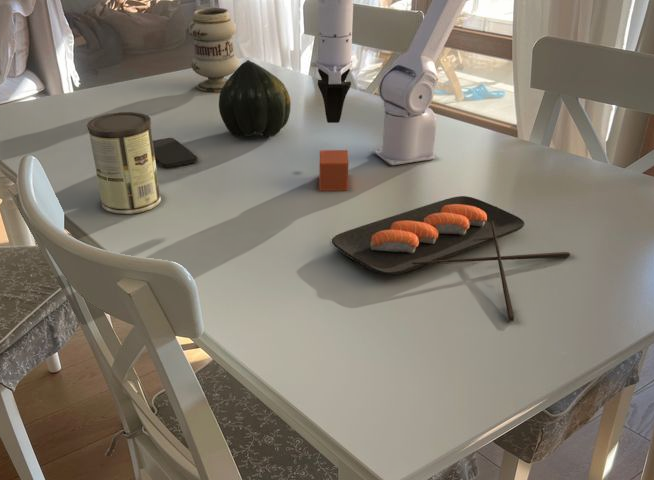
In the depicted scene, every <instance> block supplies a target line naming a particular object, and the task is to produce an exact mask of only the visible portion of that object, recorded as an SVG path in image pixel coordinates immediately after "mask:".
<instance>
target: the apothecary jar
mask: <svg viewBox="0 0 654 480" xmlns="http://www.w3.org/2000/svg"><path fill="white" fill-rule="evenodd" d="M192 19H193V20H192V21H191V22H190V23H189V25H188V33H189V35H190V37H192V38H193V41H194V56H193V58H192V59H191V63H190V65H191V69H192V71H193V72H194V73H195V74H197V75H198V76H201V77H203V78H207V79H205V80H203V81H201V82H199V83H198V84H197V89H198V90H200V91H202V92H213V93H220V92H221V90H222V88H223V86H224V85H225V83H226V82H227V80H228V79H229V78H225V77H228V76H231V75H232V74H233V73H234V72H235V71H236V70H237V69H238V67H239V66H240V60H239V58H238V57H237V55H236V54H234V44H233V36H234V35H235V34H236V31H237V25H236V22H234V20H233V19H231V18H230V14H229V10H228V9H227V8H223V7H209V8H201V9H197V10H194V12H193V18H192Z"/></svg>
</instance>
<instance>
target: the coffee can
mask: <svg viewBox="0 0 654 480" xmlns="http://www.w3.org/2000/svg"><path fill="white" fill-rule="evenodd" d="M151 125H152V118H151V117H150V116H149V115H147V114H145V113H141V112H133V111H123V112H122V111H121V112H120V111H119V112H111V113H106V114H103V115H99V116H96V117H94V118H92V119H90V120H89V121H88V122H86V129H87V131H88V135H89V139H90V145H91V151H92V156H93V162H94V167H95V171H96V178H97V183H98V187H99V188H98V189H99V193H100V194H99V195H100V200H101V206H102V208H103V210H104V211H107V212H109V213H112V214H118V215H130V214H131V215H132V214H139V213H143V212H146V211H150V210H152V209H154V208H156V207H157V206H159V204H160V203H161V200H162V197H161V193H160V186H159V179H158V178H159V177H158V169H157V163H156V161H155V155H154V147H153V140H154V139H153V133H152V126H151Z"/></svg>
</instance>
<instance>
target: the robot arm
mask: <svg viewBox="0 0 654 480" xmlns="http://www.w3.org/2000/svg"><path fill="white" fill-rule="evenodd" d="M467 1H468V0H431V2H430V5H429V7H428V8H427V11H426V13H425V14H424V17H423V19H422V21H421V22H420V25H419V27H418V29H417V31H416V33H415V35H414V38H412V39H413V40H412V41H411V43H410V46H409V47H408V49H407V51H406V52H404V53H403V54H401V55H399V56H397V57H396V58H394V60H393V63H392V65H391V66H390V67H389V69H387V70H386V72H384V74H383V75H382V76H381V78H380V80H379V82H378V89H377V90H378V95H379V97H380V99H381V100H382V101H383V108H384V115H383V117H384V118H383V131H382V132H383V134H382V148H379V149H374V150H373V154H375V155H376V156H378V157H379V158H380V159H382V160H383V161H384V162H386V163H387V164H388V165H390V166H398V165H404V164H411V163H416V162H417V163H418V162H423V161H429V160H435V159H436V156H435V155H434V151H435V143H436V133H437V119H436V114H435V112H434V110H433V109H432V108H430V106H431V104H432V102H433V98H434V93H435V89H436V86H437V83H438V82H439V75H438V72H437V69H436V63H437V61H438V58H439V57H440V55H441V53H442V51H443V49H444V47H445V45H446V43H447V41H448V39H449V37H450V35H451V33H452V32H453V29H454V27H455V25H456V23H457V21H458V19H459V17H460V15H461V13H462V11H463V9H464V7H465V5H466V3H467ZM317 12H318V15H317V21H318V22H317V59H316V60H315V59H313V60H311V61H310V67H311V68H317V72H318V74H319V76H320V79H317V87H318V89H319V91H320V93H321V96H322V100H323V104H324V111H325V118H326V123H328V124H330V123H331V124H338V123H340V122H341V117H342V113H343V108H344V104H345V100H346V97H347V95H348V92H349V91H350V89H351V86H352V81H346V80H347V77H348V75H349V73H350V72H351V68H352V67H353V60H352V51H353V49H352V48H353V22H354V21H353V20H354V19H353V18H354V0H318V9H317Z"/></svg>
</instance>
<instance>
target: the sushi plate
mask: <svg viewBox="0 0 654 480" xmlns="http://www.w3.org/2000/svg"><path fill="white" fill-rule="evenodd" d="M523 227H525V221H524V220H523V219H522V218H520V217H519V216H517V215H515V214H514V213H511V212H509V211H507V210H504V209H502V208H500V207H497V206H495V205H493V204H491V203H488V202H487V201H483V200H481V199H478V198H475V197H472V196H467V195H459V196H453V197H449V198H446V199H445V198H444V199H441V200H438V201H435V202H432V203H429V204H425V205H423V206H420V207H417V208H413V209H410V210H407V211H404V212H401V213H399V214H394V215H392V216H389V217H386V218H382V219H379V220H376V221H373V222H370V223H367V224H364V225H361V226H357V227H354V228H352V229H349V230H346V231H342V232H340V233H338V234H336V235H335V236H333V237H332V238H331V244H332V245H333V246H334V248H335V249H337V250H338V251H339V252H341V253H342V254H344V255H345V256H347V257H349V258H350V259H352V260H353V261H355V262H356V263H358V264H360V265H362V266H363V267H365V268H367V269H369V270H371V271H373V272H375V273H376V274H381V275H385V276H395V275H401V274H404V273H407V272H410V271H413V270H415V269H419V268H421V267H424V266H427V265H430V264H444V263H446V264H447V263H463V262H464V263H465V262H484V261H485V262H487V261H489V262H490V261H497V263H498V268H499V273H500V281H501V285H502V291H503V296H504V303H505V308H506V314H507V318H508V322H514V320H515V319H514V318H515V314H514V310H513V305H512V300H511V296H510V292H509V288H508V287H509V286H508V283H507V278H506V275H505V274H506V273H505V269H504V266H503V261H510V260H535V259H538V260H539V259H540V260H541V259H559V258H569V257H570V256H571V253H570V252H569V251H557V252H543V253H529V254H514V255H501V253H500V252H501V251H500V247H499V242H498V239H501V238H503V237H505V236H508V235H511V234H513V233H515V232H518V231H519V230H522V229H523ZM492 241H494V247H495V252H496V256H486V257H485V256H484V257H471V258H455V259H453V258H452V259H446V258H449V257H451V256H455V255H457V254H459V253H463V252H465V251H468V250H470V249H473V248H476V247H479V246H481V245H484V244H487V243H490V242H492Z"/></svg>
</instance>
